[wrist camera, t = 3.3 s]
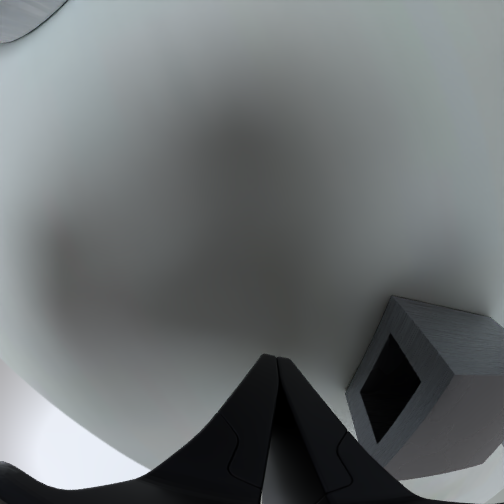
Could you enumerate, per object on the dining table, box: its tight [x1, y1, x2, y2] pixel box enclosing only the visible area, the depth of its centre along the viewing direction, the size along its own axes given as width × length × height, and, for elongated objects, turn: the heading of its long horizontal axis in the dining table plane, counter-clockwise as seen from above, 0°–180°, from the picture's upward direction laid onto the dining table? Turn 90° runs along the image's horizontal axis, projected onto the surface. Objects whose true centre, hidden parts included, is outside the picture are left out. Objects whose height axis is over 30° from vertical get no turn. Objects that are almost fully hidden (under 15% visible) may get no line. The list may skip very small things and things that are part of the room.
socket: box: [345, 296, 504, 481], centre depth 9 cm, size 6×5×5 cm
